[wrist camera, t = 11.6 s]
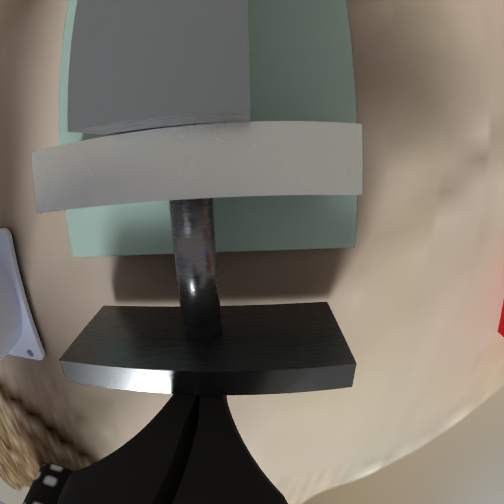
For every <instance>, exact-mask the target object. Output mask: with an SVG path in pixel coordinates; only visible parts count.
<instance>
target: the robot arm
mask: <svg viewBox="0 0 504 504" xmlns="http://www.w3.org/2000/svg"><path fill="white" fill-rule="evenodd" d="M7 354H9V355H13V356H18V357H23V358H28V359H34V360H39V361H40V360H42V359H43V358H44V357H45V352H44V349H43V346H42V344H41V341H40V338H39V336H38V333H37V330H36V327H35V324H34V321H33V318H32V315H31V312H30V308H29V305H28V302H27V298H26V295H25V291H24V288H23V284H22V280H21V276H20V272H19V268H18V264H17V259H16V255H15V250H14V245H13V240H12V235H11V233H10V231H9V230H8V229H7V228H0V361H1V360H2V359H3V358H4V357H5V356H6V355H7ZM0 504H4V503H2V502H1V501H0ZM58 504H288V503H287V501H286V500H285V497H284V496H283V495H282V493H281V492H280V491H279V490H278V489H277V488H276V487H275V486H274V485H273V484H272V483H271V481H270V480H269V479H268V478H267V476H266V475H265V474H264V473H263V471H262V470H261V469H260V467H259V466H258V464H257V463H256V461H255V460H254V459H253V457H252V456H251V454H250V452H249V451H248V449H247V447H246V446H245V444H244V442H243V440H242V438H241V436H240V434H239V432H238V430H237V428H236V425H235V423H234V421H233V418H232V415H231V413H230V410H229V406H228V403H227V396H226V395H192V394H173V396H172V397H171V398H170V399H169V401H168V402H167V403H166V405H165V406H164V407H163V408H162V409H161V410H160V412H159V413H158V414H157V415H156V416H155V417H154V418H153V419H152V420H151V421H150V422H149V423H148V424H147V425H146V426H145V427H144V428H143V429H142V430H141V431H140V432H139V433H138V434H137V435H136V436H134V437H133V438H132V439H131V440H129V441H128V442H127V443H126V444H124V445H123V446H122V447H120V448H119V449H117V450H116V451H114V452H113V453H111V454H110V455H108V456H106V457H105V458H103V459H101V460H100V461H98V462H96V463H94V464H92V465H90V466H88V467H85V468H83V469H81V470H79V471H76V472H74V473H71V474H70V476H69V478H68V480H67V481H66V483H65V486H64V488H63V490H62V493H61V495H60V498H59V500H58Z"/></svg>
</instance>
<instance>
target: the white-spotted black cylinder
mask: <svg viewBox="0 0 504 504" xmlns="http://www.w3.org/2000/svg"><path fill="white" fill-rule="evenodd" d="M71 473H74V472H73V471H70V470H68V469H66V468H63V467H60V466H57V465H53V464H43V465H42V466H41V468H40V470H39V472H38V474H37V476H36V478H35V480H34V482H33V484H32V486H31V488H30V490H29V492H28V494H27V496H26V498H25V500H24V502H23V504H58V500H59V498H60V495H61V493H62V490H63V488H64V486H65V483H66V481H67V480H68V478H69V476H70V474H71Z"/></svg>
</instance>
